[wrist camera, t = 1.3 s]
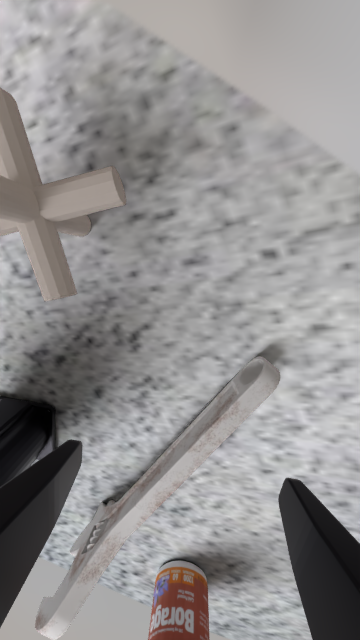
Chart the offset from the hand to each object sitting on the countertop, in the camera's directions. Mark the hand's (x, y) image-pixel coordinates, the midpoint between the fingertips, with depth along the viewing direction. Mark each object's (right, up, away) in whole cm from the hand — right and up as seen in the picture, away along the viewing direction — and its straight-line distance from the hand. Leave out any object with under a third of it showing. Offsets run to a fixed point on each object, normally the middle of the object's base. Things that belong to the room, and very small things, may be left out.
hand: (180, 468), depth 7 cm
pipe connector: (-8, +12, +10) cm, 18 cm away
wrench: (-2, -9, +15) cm, 18 cm away
